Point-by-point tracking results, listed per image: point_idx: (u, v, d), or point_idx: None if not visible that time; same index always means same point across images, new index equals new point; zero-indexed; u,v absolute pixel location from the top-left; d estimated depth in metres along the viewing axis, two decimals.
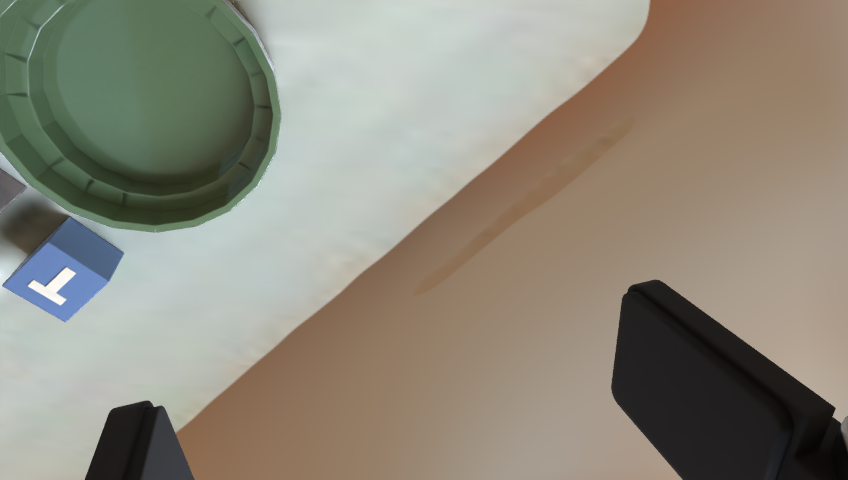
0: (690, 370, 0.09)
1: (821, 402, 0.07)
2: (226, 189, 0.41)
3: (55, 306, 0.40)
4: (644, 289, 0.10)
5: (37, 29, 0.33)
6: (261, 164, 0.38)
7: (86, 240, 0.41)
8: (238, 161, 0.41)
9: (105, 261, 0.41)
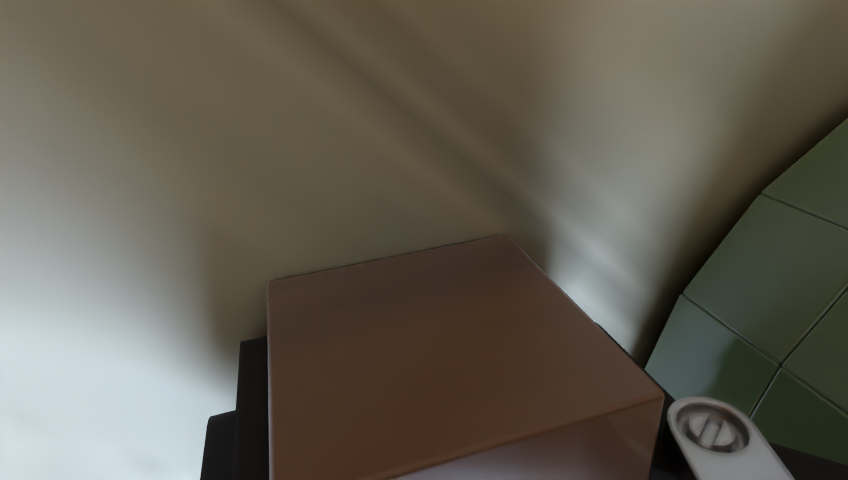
0: None
1: None
2: None
3: None
4: None
5: None
6: None
7: None
8: None
9: None
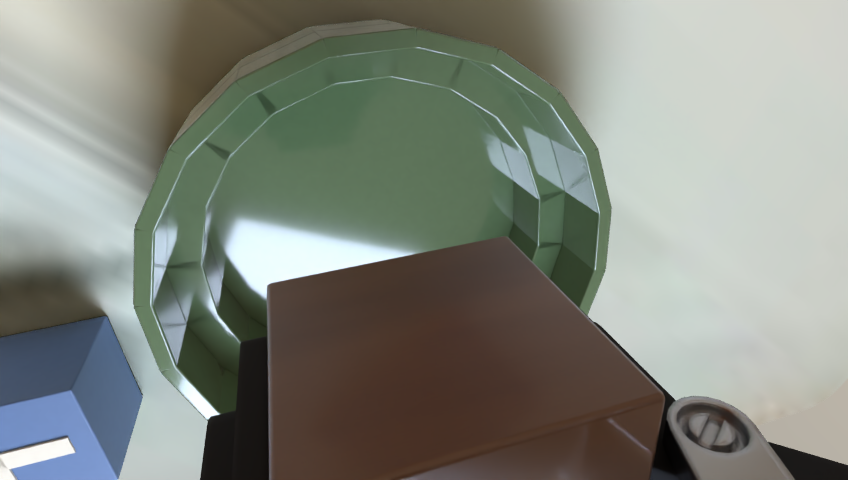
0: None
1: None
2: None
3: None
4: None
5: (328, 83, 0.18)
6: None
7: (112, 373, 0.23)
8: None
9: (123, 423, 0.23)
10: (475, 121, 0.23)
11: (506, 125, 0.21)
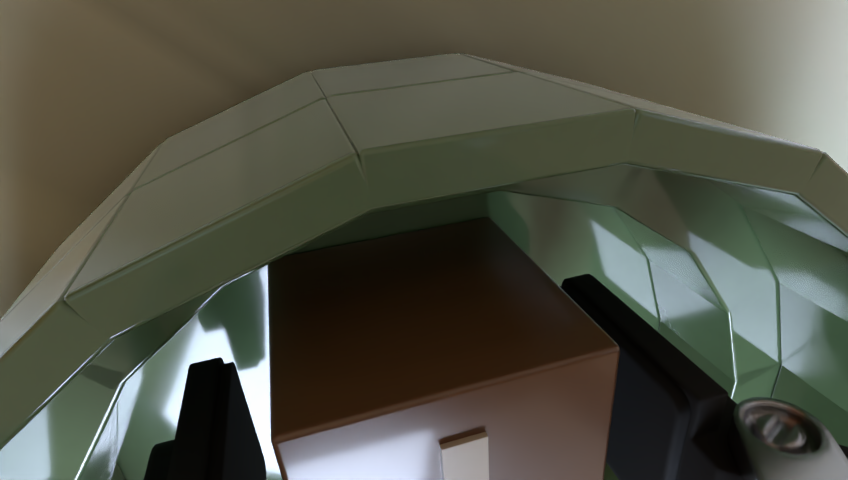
0: None
1: (715, 387, 0.08)
2: None
3: None
4: (574, 282, 0.11)
5: None
6: None
7: None
8: None
9: None
10: (611, 231, 0.13)
11: (707, 266, 0.10)
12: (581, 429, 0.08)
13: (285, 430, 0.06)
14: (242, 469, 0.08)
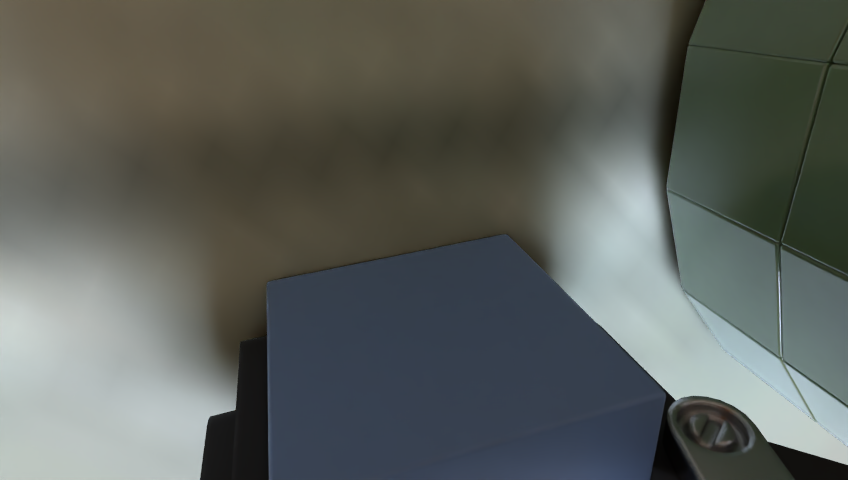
0: None
1: None
2: None
3: None
4: None
5: None
6: None
7: None
8: None
9: None
10: None
11: None
12: None
13: None
14: None
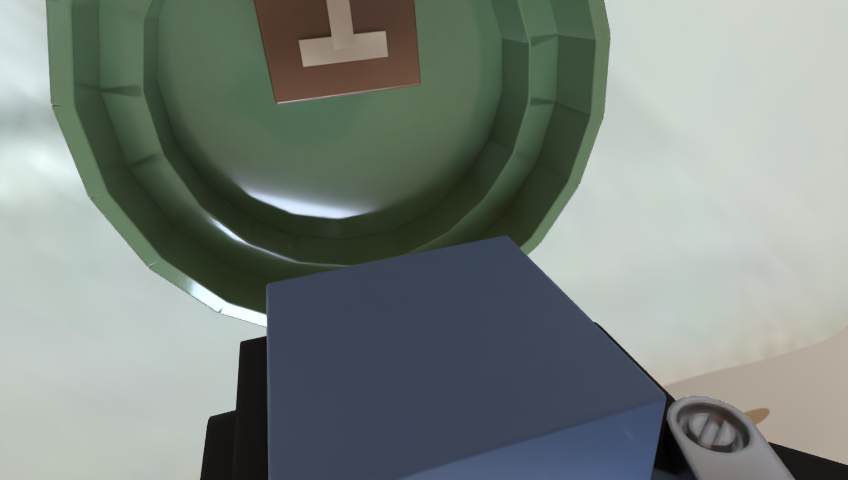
0: None
1: None
2: None
3: None
4: None
5: None
6: None
7: None
8: None
9: None
10: None
11: None
12: None
13: None
14: None
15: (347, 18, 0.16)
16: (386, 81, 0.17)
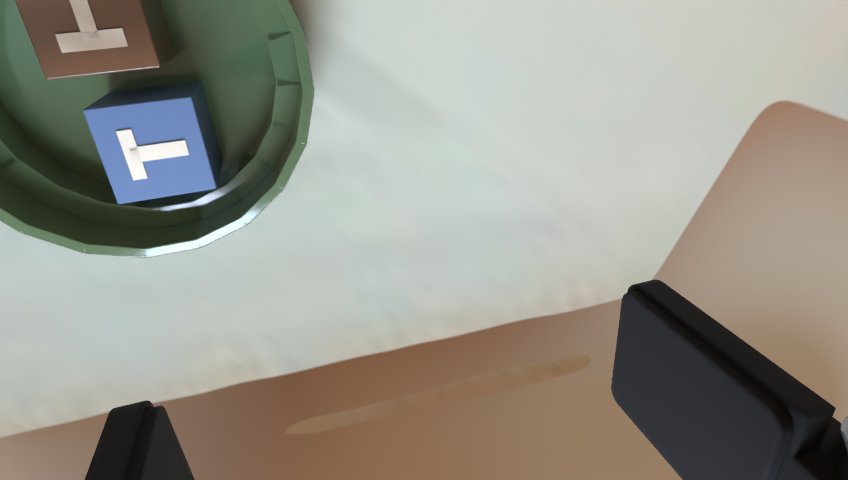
0: (690, 370, 0.09)
1: (820, 402, 0.07)
2: (153, 223, 0.30)
3: (125, 177, 0.26)
4: (644, 289, 0.10)
5: None
6: (222, 227, 0.28)
7: (207, 121, 0.29)
8: (191, 201, 0.30)
9: (215, 160, 0.29)
10: None
11: None
12: None
13: None
14: None
15: (91, 19, 0.23)
16: (131, 64, 0.24)
